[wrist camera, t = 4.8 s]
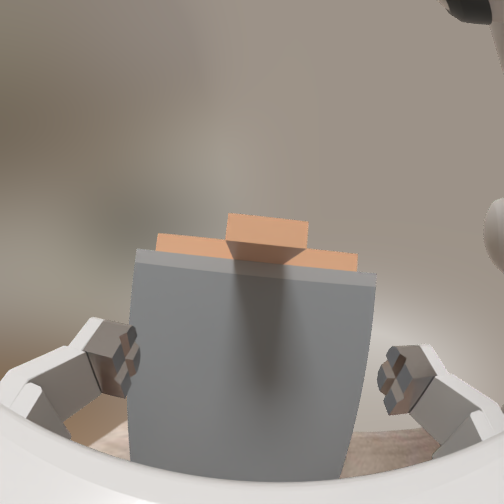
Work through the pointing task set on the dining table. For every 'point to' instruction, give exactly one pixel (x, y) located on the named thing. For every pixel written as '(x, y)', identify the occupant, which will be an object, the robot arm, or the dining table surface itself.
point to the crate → (246, 366)
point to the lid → (260, 244)
